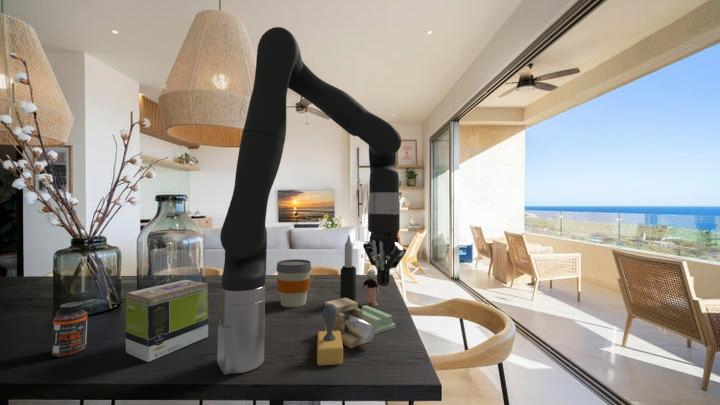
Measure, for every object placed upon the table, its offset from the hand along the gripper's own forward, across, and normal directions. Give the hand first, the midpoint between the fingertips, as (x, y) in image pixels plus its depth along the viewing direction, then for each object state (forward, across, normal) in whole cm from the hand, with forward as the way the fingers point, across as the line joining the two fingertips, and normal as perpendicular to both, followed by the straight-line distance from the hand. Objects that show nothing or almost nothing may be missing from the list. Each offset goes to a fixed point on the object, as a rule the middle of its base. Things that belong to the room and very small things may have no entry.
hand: (383, 285), depth 71 cm
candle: (+17, -37, +17) cm, 44 cm away
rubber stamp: (+17, -9, -9) cm, 21 cm away
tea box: (+17, -37, -39) cm, 56 cm away
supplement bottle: (+17, -47, -58) cm, 77 cm away
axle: (+13, -12, 0) cm, 18 cm away
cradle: (+17, -17, +11) cm, 26 cm away
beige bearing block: (+17, -14, 0) cm, 22 cm away
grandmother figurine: (+17, -31, +23) cm, 42 cm away
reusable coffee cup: (+17, -49, +1) cm, 52 cm away
